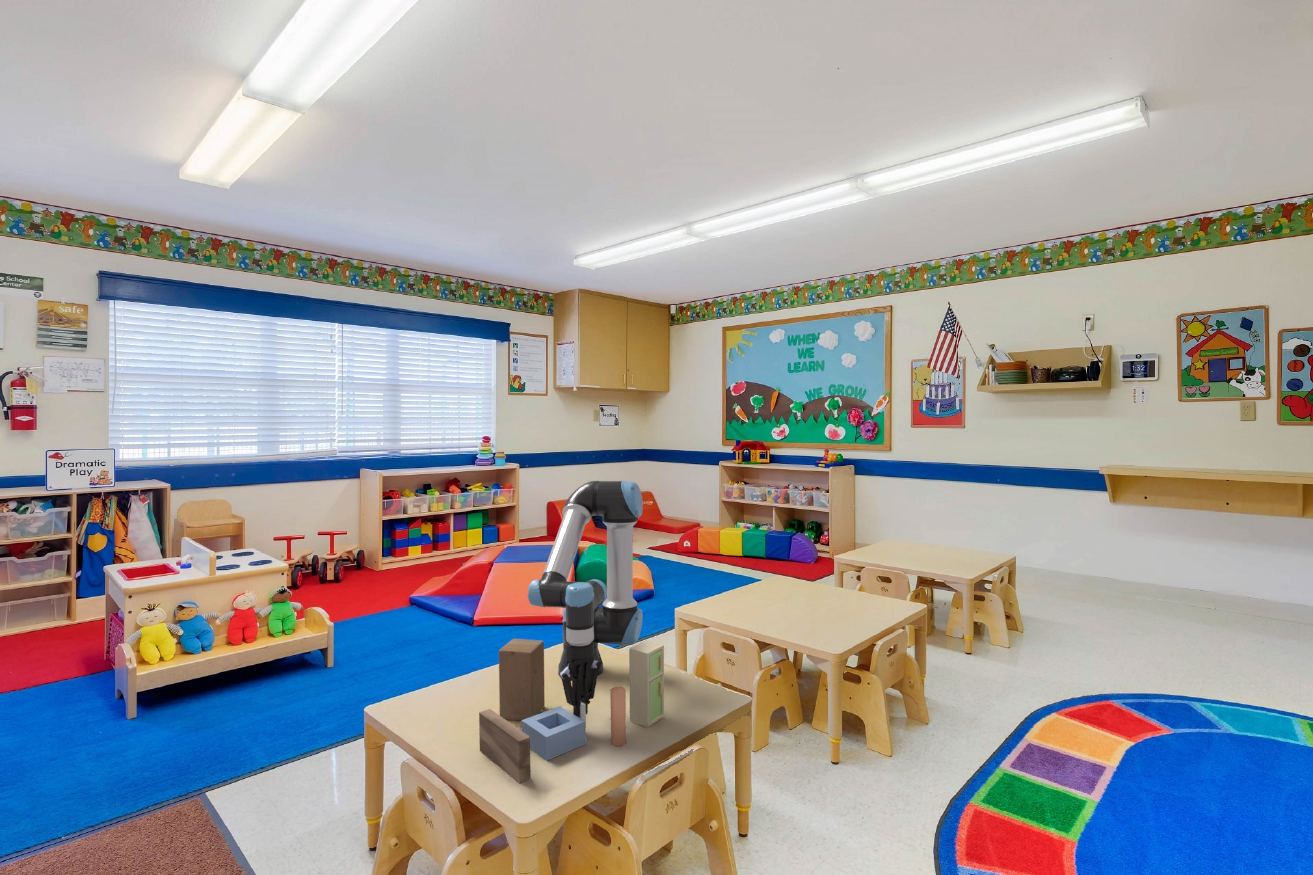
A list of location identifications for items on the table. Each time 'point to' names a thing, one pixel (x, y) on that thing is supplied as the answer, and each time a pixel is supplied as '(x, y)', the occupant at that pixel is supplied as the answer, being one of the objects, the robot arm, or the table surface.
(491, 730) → the wall
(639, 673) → the toy refrigerator
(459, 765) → the table surface
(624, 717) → the dowel
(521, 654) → the wooden block
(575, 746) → the socket block
